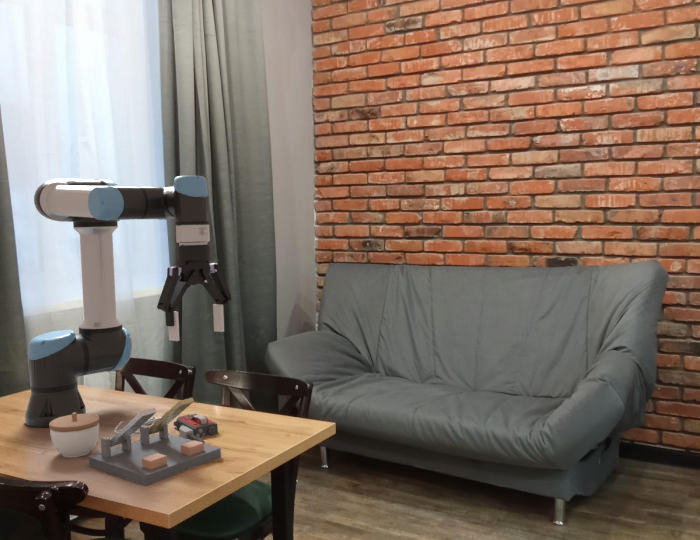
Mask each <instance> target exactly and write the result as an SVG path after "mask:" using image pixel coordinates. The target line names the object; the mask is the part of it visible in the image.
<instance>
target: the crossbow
mask: <svg viewBox="0 0 700 540" xmlns="http://www.w3.org/2000/svg"><path fill="white" fill-rule="evenodd" d="M161 417H162V416H161ZM161 417H157V416H156V417H155V416H154V417H153V416H152V417H151V418H150V419H148V420H147V421H146V422H145V423H144V424H143V425H145V426H149V425H151V426H152V425H153V424H154V423H155V422H156V421H158V420H159V419H160V418H161ZM131 420H132V419H130V420H129V422H130V421H131ZM123 422H124V420H122V421H120V422H119V423H118V424H117V425H116V426H115V428H114V431H113V432H114V434H117V433H118V432H119V431H120V430H122V429H123V428H121V429H120V428H119V427H120V426H121V425H123ZM118 428H119V429H118ZM134 434H140V430H138V431H137V430H136V431H135V432H134V433H133V434H132V435H134Z"/></svg>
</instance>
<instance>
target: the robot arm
mask: <svg viewBox="0 0 700 540" xmlns="http://www.w3.org/2000/svg"><path fill="white" fill-rule="evenodd" d="M209 195H210V193H209V189H208V180H207V178H206V177H205V176H203V175H179V176H175V178H173V185H172V186H166V187H165V186H122V185H121V186H120V185H118V184H117V183H116V182H115V181H113V180H110V179H103V178H102V179H101V178H65V177H63V178H61V177H60V178H54V179H49V180H47V181H45V182H44V183H42V184H41V185H39V186H38V187H37V189H36V190H35V192H34V195H33V201H34V202H33V204H34V205H35V209H36V211H38V213H39V214H40V215H41V216H43V217H45V219H49V220H51V221H55V222H70V223H71V222H72V224H73V227H72V228H73V229H74V231H76V232H77V234H79V243H80V244H79V247H80V248H79V249H80V264H81V282H82V283H81V285H82V287H81V288H82V305H83V306H82V307H83V320H82V322H80V324H78V333H77V334H76V333H75V331H74V330H72V329H62V330H55V331H54V330H53V331H50V332H46V333H42V334H39V335H37V336H34V337H33V338H32V339H31V340H30V341H29V343H28V354H27V359H28V367H29V380H30V381H29V384H30V396H29V400H28V402H27V403H28V404H27V407H26V410H25V414H24V420H25V421H24V422H25V425H27V426H29V427H35V428H47V427H48V428H49V423H50V422H51V421H52V420H54V419H56V418H59V417H63V416H67V415H72V413H77V414H87V408H86V407H87V406H86V405H85V401H84V399H83V397H82V395H81V393H80V390H79V386H78V377H83V376H89V375H94V374H95V375H96V374H99V373H105V372H107V373H109V372H112V371H115V370H119V369H122V368H124V367H125V366H126V365H127V363H128V362H129V360H130V358H131V355H132V350H133V341H132V337H131V333H130V332H129V330H128V329H126V328H124V327H123V322H122V321H120V319H118V317H117V306H116V305H117V304H116V285H115V284H116V282H115V281H116V280H115V263H114V262H115V261H114V242H113V239H114V237H113V233H114V232H115V231H116V229H118V227H119V226H118V222H119V221H124V220H125V221H126V220H160V221H161V220H165V221H166V220H173V219H174V220H175V239H176V240H175V241H176V243H177V244H178V245H177V246H176V258H177V259H176V260H177V261H178V264H179V265H178V266H168V267H167V272H166V273H167V274H166V279H165V281H164V284H163V287H162V291H161V294H160V296H159V299H158V303H157V305H156V308H157V310H161V311H162V312H164V314H165V325H166V327H168V328H167V331H168V340H169V341H171V342H179V341H180V323H179V320H180V319H179V311H176V309H177V307H178V306H179V303H180V302H181V300H182V298H183V297H184V296H185V293H186V291H187V289H189V288H190V287H191V286H196V285H202V286H203V288H204V289H205V290H206V292H207V293H208V294H209V296H210V297H211V298H212V299H213V301H214V302H215V303H213V304H212V312H213V315H212V316H213V332H215V333H216V332H217V333H218V332H219V333H223V332H225V316H226V305H227V304H229V301H232V295H231V293H230V291H229V288H228V285H227V284H226V281H225V279H224V276H223V274H222V270H221V264H220V263H218V262H210V260H211V258H212V257H211V255H212V254H211V251H212V250H211V245H210V244H208V243H209V242H210V241H211V235H210V234H211V233H210V205H209V204H210V202H209V201H210V200H209V199H210V197H209ZM209 273H210V274H209ZM179 276H180V277H179Z"/></svg>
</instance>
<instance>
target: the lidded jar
mask: <svg viewBox="0 0 700 540" xmlns="http://www.w3.org/2000/svg"><path fill="white" fill-rule="evenodd" d="M100 420H101V419H100V416H98V415H97V414H93V413H86V414H77V413H72V415H67V416H63V417H59V418H56V419H54V420H52V421H51V422H50V423H49V427H48V428H49V434H50V439H51V444H52V446H53V448H54V449H55V451H56V452H57V453H59V454H61V456H62V457H63V458H68V459H69V458H71V459H72V458H79V457H83V456H87V455H88V454H90V453H91V450H92V449H94V447H95V446H96V444H97V443H98V441H99V436H100Z"/></svg>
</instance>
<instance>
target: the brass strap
mask: <svg viewBox="0 0 700 540" xmlns="http://www.w3.org/2000/svg"><path fill="white" fill-rule="evenodd" d="M193 403H195V400H194V398H193V397H188V398H185V399H182V400H179V401H178V402H177V403H176V404H174V405H173V406H172V407H171V408H169V409H168V411H167V412H165V413H164V414H163V415H162V416H161V418H160V417H159V418H160V419H159V420H158V421H156V422H155V423H152V424H153V425H152V424H151V425H150V427H149V436H150V435H151V436H152V435H155V434H157V433H158V434H159V432H161V431H162V429H163V428H164V427H165V426H166V425H167V424H168V425H169V424H170V423H171V422H173V420H174V419H177V418H178V417H179V415H181V413H183V412H184V411H185V410H186V409H187V408H189V406H191V405H192V404H193Z"/></svg>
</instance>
